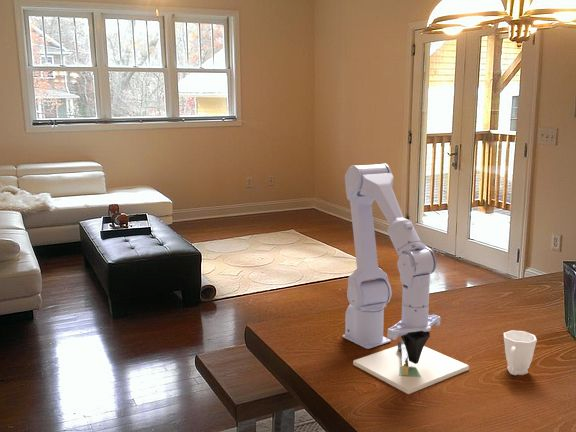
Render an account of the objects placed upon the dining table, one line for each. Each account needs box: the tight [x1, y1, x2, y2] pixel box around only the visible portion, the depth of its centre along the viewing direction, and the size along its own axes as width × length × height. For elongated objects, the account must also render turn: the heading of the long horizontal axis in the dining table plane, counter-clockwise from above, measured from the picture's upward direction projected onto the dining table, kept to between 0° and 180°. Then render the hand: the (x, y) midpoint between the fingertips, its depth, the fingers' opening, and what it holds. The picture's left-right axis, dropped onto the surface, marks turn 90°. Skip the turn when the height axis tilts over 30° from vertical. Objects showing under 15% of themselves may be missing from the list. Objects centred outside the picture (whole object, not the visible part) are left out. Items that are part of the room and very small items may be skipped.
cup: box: [503, 329, 538, 376], centre depth 126 cm, size 7×10×8 cm
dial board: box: [352, 345, 470, 395], centre depth 130 cm, size 17×19×1 cm
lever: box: [397, 339, 408, 375], centre depth 131 cm, size 14×3×2 cm, turn 170°
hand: (413, 361), depth 128 cm, fingers closed
